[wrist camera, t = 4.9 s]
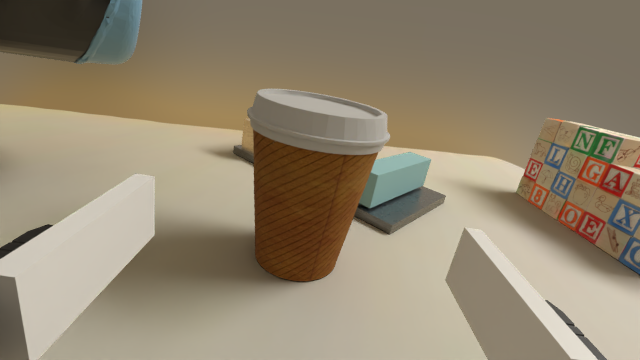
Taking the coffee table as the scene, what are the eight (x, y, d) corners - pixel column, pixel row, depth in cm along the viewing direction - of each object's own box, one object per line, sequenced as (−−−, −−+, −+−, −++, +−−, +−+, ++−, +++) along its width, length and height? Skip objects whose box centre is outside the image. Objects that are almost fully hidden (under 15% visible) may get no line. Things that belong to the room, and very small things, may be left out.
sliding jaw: (423, 185, 44) (431, 159, 42) (369, 208, 34) (378, 175, 33) (402, 177, 45) (409, 151, 44) (346, 196, 36) (353, 165, 34)
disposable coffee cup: (250, 217, 31) (266, 83, 27) (353, 236, 31) (385, 105, 27) (214, 283, 22) (229, 97, 18) (358, 310, 22) (407, 131, 18)
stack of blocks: (697, 286, 34) (777, 173, 30) (644, 280, 33) (718, 163, 29) (549, 197, 54) (584, 122, 50) (513, 192, 53) (546, 115, 49)
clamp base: (443, 202, 43) (455, 166, 41) (389, 234, 32) (403, 186, 31) (302, 144, 57) (307, 114, 55) (233, 152, 46) (236, 117, 45)
